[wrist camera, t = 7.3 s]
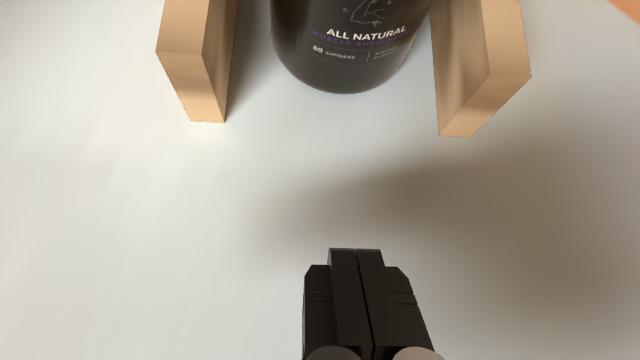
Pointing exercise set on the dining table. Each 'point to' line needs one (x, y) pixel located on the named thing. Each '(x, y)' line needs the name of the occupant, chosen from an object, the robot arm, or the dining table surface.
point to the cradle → (447, 43)
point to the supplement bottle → (344, 40)
